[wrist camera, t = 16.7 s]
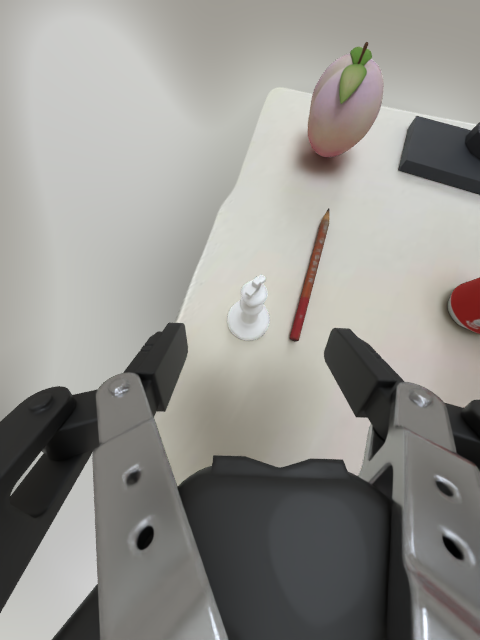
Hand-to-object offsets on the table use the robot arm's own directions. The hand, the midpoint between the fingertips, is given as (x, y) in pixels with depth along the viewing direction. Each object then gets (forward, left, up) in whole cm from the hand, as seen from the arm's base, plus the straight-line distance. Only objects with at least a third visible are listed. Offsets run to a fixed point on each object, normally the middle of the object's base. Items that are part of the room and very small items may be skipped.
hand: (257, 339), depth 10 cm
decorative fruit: (0, -32, -11) cm, 34 cm away
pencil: (-4, -13, -11) cm, 17 cm away
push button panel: (-18, -39, -11) cm, 44 cm away
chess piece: (+1, -4, -11) cm, 11 cm away
